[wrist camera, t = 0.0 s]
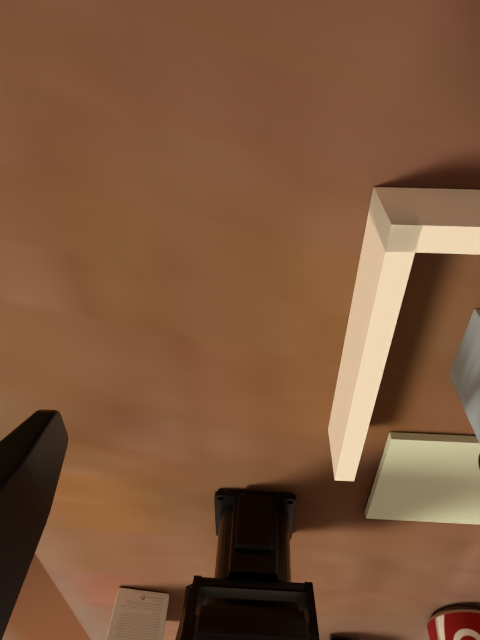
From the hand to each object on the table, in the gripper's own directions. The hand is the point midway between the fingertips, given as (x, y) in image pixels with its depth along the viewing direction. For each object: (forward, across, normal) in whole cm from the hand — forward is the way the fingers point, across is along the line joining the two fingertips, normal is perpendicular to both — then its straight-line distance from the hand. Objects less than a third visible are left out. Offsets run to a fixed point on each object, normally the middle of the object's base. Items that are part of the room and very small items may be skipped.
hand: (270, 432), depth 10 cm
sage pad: (+15, -14, +22) cm, 30 cm away
